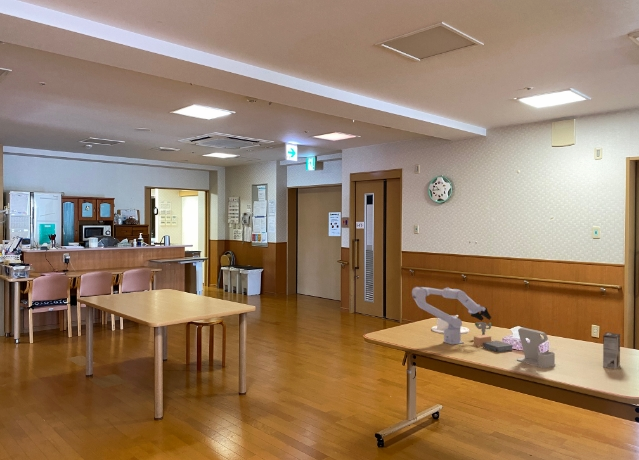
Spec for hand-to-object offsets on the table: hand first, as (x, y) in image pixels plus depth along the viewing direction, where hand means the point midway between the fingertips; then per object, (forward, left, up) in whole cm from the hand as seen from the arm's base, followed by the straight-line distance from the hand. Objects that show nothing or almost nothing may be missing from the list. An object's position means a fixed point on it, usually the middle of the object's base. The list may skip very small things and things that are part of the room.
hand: (486, 319), depth 305 cm
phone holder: (-10, -46, -14) cm, 49 cm away
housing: (-7, -4, -14) cm, 16 cm away
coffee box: (+19, -67, -14) cm, 71 cm away
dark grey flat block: (-7, -16, -14) cm, 22 cm away
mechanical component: (+4, +7, -14) cm, 16 cm away
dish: (+1, +35, -15) cm, 38 cm away
